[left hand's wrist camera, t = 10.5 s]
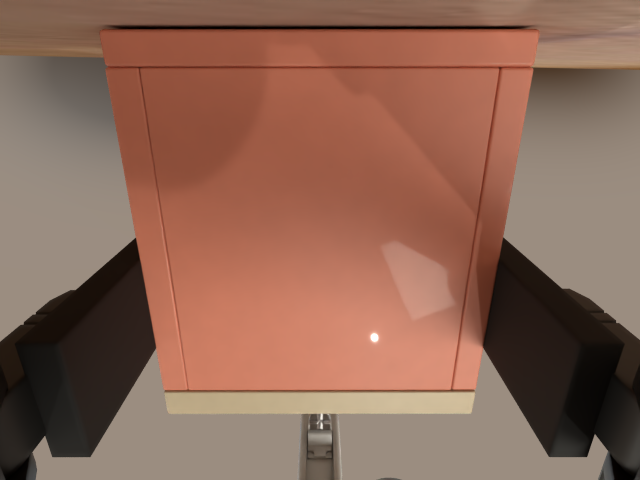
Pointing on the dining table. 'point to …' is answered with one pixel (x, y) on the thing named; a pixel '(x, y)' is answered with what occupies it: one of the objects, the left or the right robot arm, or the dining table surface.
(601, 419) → the left robot arm
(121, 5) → the dining table surface
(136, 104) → the chest
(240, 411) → the lid
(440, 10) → the dining table surface
